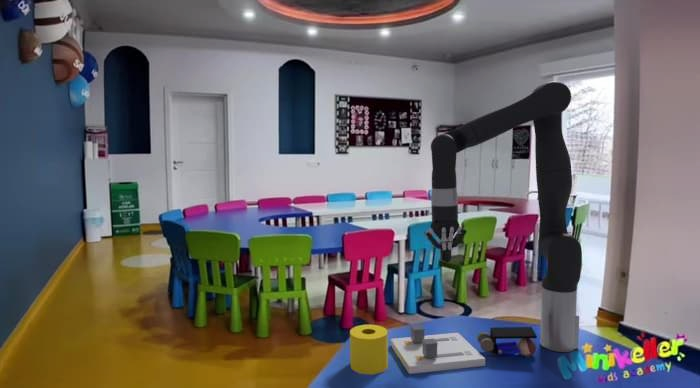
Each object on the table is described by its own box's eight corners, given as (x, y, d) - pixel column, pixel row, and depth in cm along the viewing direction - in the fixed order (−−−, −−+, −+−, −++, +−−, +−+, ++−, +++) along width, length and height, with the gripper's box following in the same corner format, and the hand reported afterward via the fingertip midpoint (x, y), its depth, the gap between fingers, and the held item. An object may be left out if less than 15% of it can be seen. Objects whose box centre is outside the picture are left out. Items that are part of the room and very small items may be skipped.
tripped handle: (421, 337, 139) (421, 324, 138) (424, 342, 136) (424, 329, 135) (410, 338, 138) (410, 325, 138) (413, 343, 135) (413, 330, 135)
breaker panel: (457, 339, 144) (457, 332, 143) (485, 365, 126) (485, 358, 126) (390, 345, 140) (390, 338, 140) (409, 373, 122) (409, 366, 122)
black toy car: (482, 364, 130) (540, 360, 128) (479, 337, 130) (537, 333, 128) (478, 353, 137) (533, 349, 135) (476, 328, 136) (530, 323, 134)
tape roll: (391, 359, 131) (391, 326, 130) (382, 376, 121) (382, 340, 120) (356, 355, 134) (356, 323, 133) (345, 371, 124) (345, 336, 123)
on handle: (433, 352, 129) (433, 338, 129) (437, 357, 126) (437, 343, 126) (422, 353, 128) (422, 339, 128) (426, 358, 125) (426, 344, 125)
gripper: (460, 200, 143) (461, 257, 144) (418, 203, 140) (420, 261, 142) (471, 203, 135) (472, 262, 137) (427, 206, 133) (429, 267, 135)
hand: (445, 261), depth 140 cm, fingers closed
